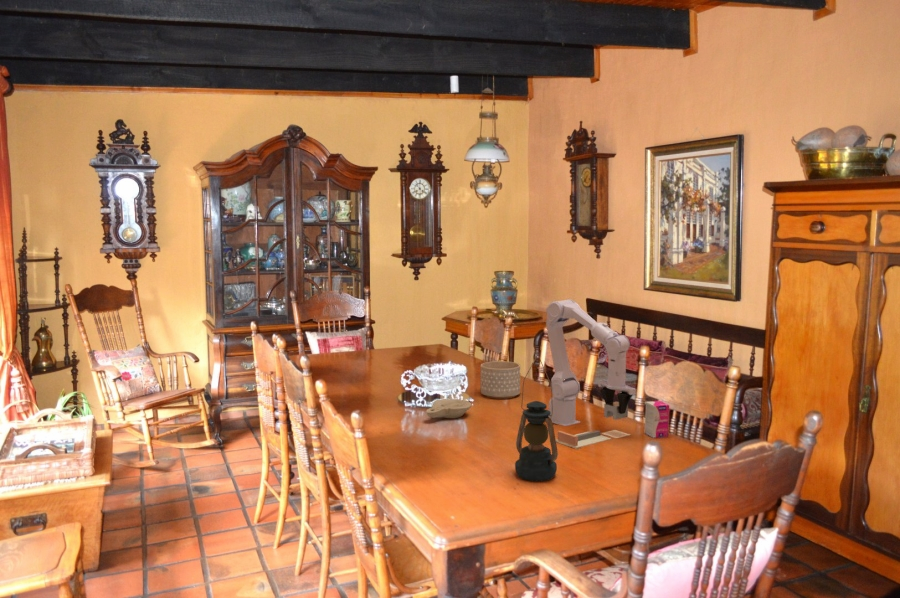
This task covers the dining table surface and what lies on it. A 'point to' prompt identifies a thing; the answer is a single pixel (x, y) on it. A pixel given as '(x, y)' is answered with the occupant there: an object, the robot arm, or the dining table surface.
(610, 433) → the pad
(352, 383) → the dining table surface
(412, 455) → the dining table surface
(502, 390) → the planter
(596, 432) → the rail board
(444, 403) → the oil lamp
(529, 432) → the lantern
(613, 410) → the clip
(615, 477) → the dining table surface
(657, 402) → the supplement box
